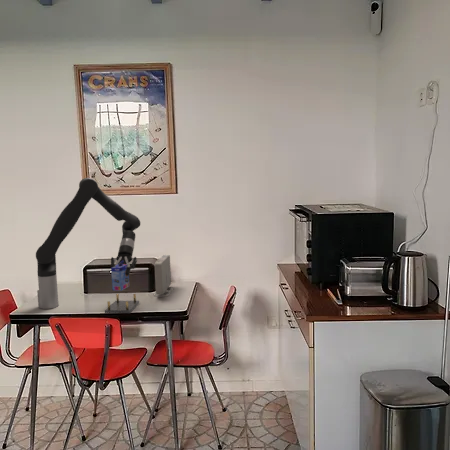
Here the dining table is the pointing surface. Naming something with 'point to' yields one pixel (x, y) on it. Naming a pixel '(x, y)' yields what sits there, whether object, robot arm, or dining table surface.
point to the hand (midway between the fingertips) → (120, 274)
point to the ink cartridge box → (119, 277)
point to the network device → (163, 276)
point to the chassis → (122, 306)
